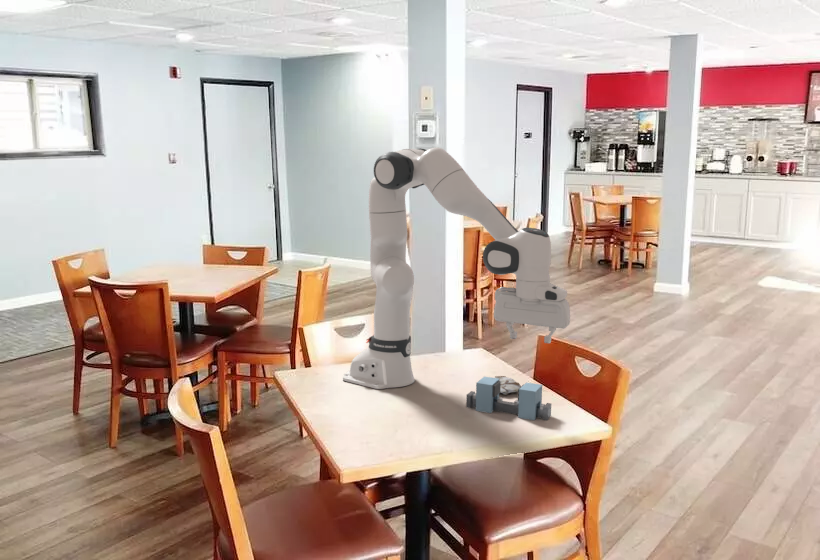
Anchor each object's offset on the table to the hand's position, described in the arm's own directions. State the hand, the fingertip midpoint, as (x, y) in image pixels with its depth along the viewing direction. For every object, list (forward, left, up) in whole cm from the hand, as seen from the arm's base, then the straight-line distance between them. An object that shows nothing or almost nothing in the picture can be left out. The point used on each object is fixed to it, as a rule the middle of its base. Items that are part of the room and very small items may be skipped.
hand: (530, 340), depth 201 cm
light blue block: (+1, 0, -21) cm, 21 cm away
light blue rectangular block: (-12, 0, -21) cm, 24 cm away
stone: (-12, +17, -21) cm, 30 cm away
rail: (-6, 0, -21) cm, 22 cm away
